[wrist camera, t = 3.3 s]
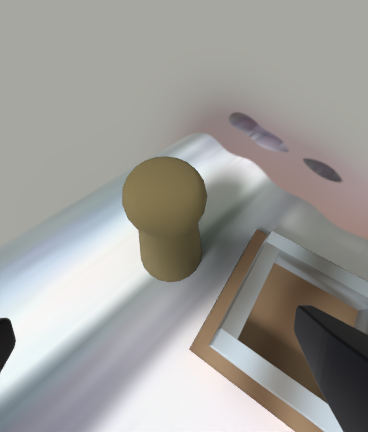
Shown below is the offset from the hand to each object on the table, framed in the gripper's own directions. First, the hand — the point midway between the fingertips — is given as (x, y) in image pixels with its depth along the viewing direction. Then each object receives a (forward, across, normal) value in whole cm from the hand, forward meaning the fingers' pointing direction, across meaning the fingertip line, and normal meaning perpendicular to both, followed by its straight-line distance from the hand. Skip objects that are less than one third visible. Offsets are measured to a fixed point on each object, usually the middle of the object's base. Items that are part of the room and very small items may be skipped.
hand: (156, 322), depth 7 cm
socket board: (+9, -10, +9) cm, 16 cm away
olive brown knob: (+14, 0, +4) cm, 15 cm away
